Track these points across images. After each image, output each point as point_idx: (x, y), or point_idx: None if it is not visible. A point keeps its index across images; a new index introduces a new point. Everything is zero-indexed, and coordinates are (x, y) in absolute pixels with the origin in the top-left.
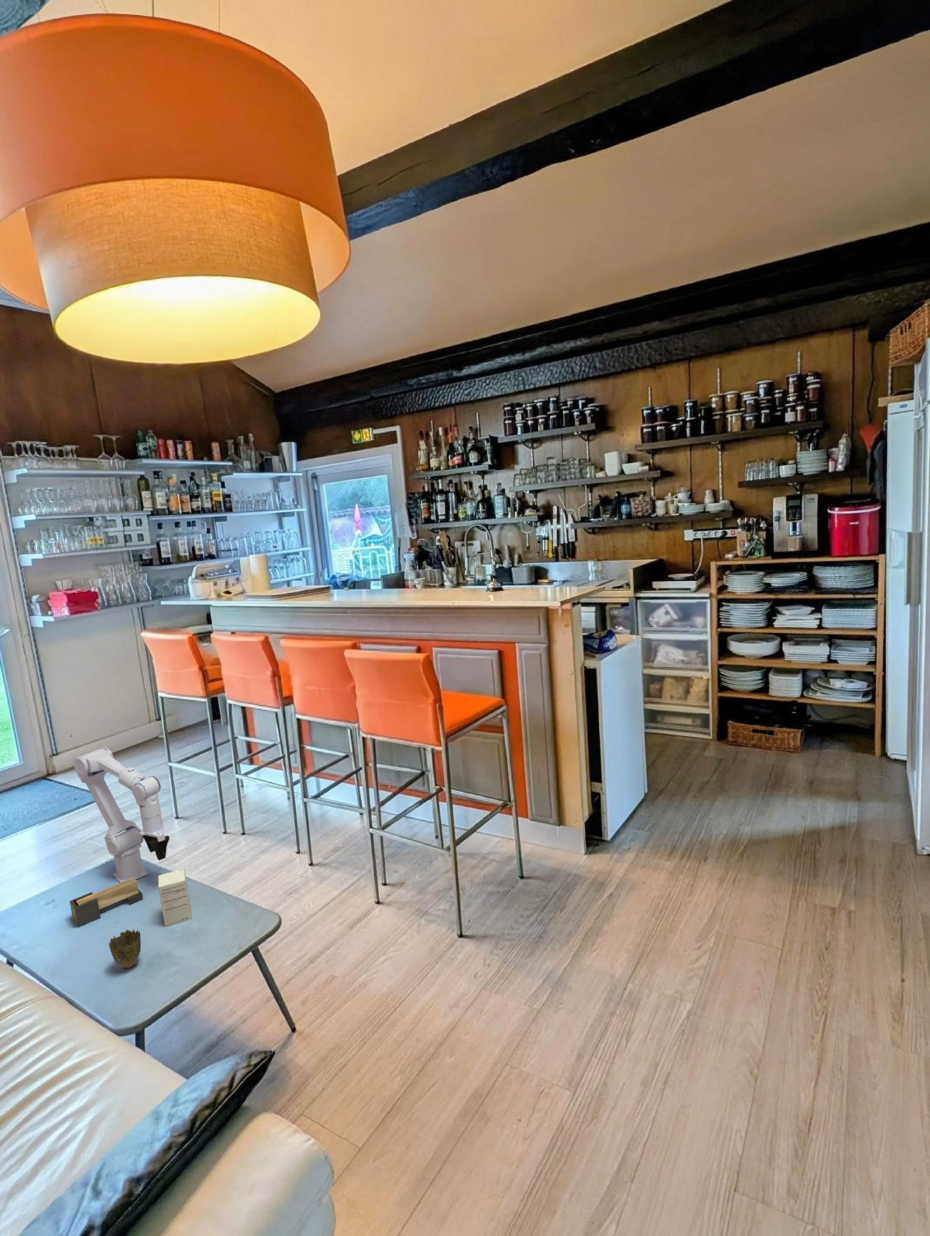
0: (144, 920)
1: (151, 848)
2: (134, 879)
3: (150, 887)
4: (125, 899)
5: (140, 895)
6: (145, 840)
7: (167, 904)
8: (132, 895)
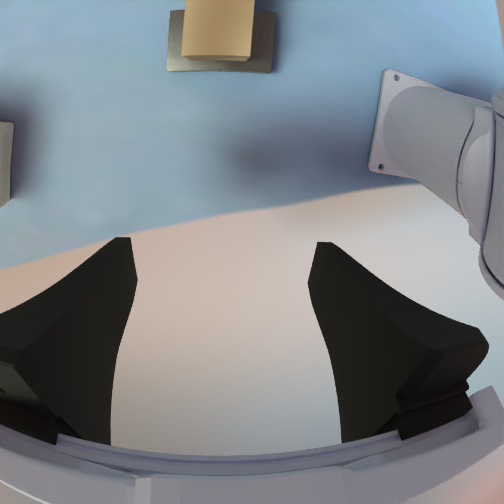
0: (27, 56)
1: (325, 270)
2: (212, 50)
3: (253, 129)
4: None
5: (167, 62)
6: (380, 308)
7: None
8: None
